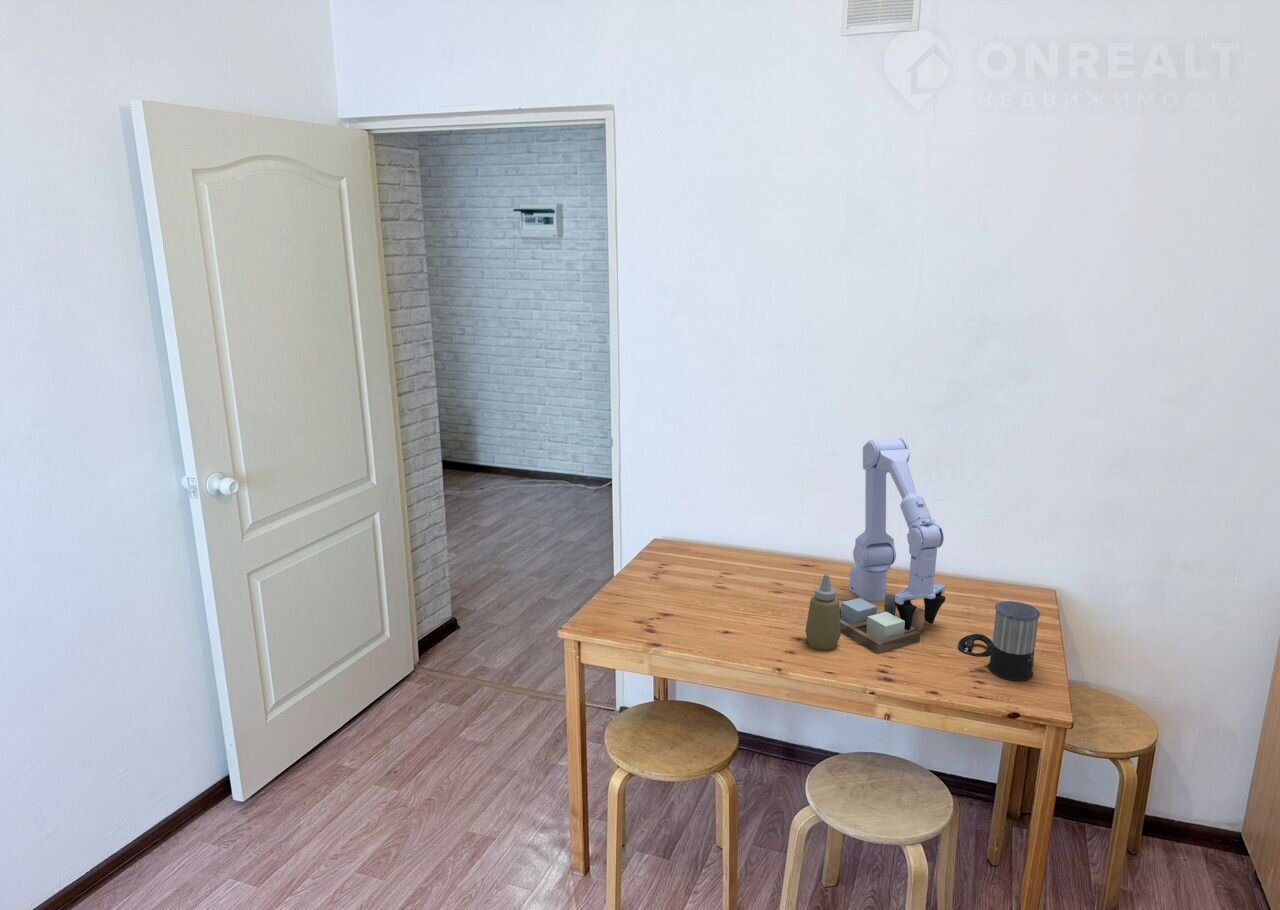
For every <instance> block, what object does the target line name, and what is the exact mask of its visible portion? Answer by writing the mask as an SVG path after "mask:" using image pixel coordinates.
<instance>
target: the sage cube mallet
mask: <svg viewBox="0 0 1280 910" xmlns="http://www.w3.org/2000/svg"><path fill="white" fill-rule="evenodd" d="M924 615H925V608H924V609H923V608H921V607H917V608H916V610H915V612H914V614H913V618H912V624H911V628H910V630H906V629H904V627H905V621H904V620H902V619H900V617H898V616H897V615H896V616H894V615H892V614H890V613H888V612H884V611H883V612H879V613H877V614H875V615H871V616H868V617H867V631H866V634H867V635H869V636H871V637H873V638H874V639H876V640H878V641H881V640H884V639H888V638H891V637H895V636H899V635H902V634H906V633H909V632H913V631H919V632H920V633H921V632H923V631H924V627H925V626H924V625H925V618H924Z"/></svg>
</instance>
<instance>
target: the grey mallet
mask: <svg viewBox="0 0 1280 910" xmlns="http://www.w3.org/2000/svg"><path fill="white" fill-rule="evenodd" d="M894 599H895V594H889V593H888V594H887V593H886V596H885V599H884V610H883V612H888V613H890V614H892V615H894V616H896V617H897V615H896V613H897V607H896V605H895V604H894ZM877 610H878V606H877V605H875V604H872V603H871V602H870V601H868V600H865V599H862V598H860V597H858V598H854V599H850V600H845V601H841V618H840V619H841V620H843V621H845V622H846V623H848V624H850V625H855V624H859V623H862V622H866V621H867V617H868V616H871V615H875V614H878V611H877Z"/></svg>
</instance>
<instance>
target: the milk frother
mask: <svg viewBox="0 0 1280 910" xmlns="http://www.w3.org/2000/svg"><path fill="white" fill-rule="evenodd" d="M994 609H995V616H994V625H993V634H992V635H993V636H992V639H991V638H989V637H988V636H987V635H984V634H979V633H972V634H969V635H966V636H964V637H962V638H961V639H959V641H958V642H957V643H958V644H957V648H958V651H959V652H961V653H962V654H965V655H967V656H970V657H975V658H984V657H989V656H990V658H989V663H988V664H987V667H988V670H989V671H990V673H992V674H994V675H995V676H997V677H999V678H1003V679H1005V680H1008V681H1009V680H1010V681H1016V682H1017V681H1018V682H1022V681H1024V682H1025V681H1029V680H1030V679H1032V678H1033V676H1034V657H1035V650H1036V642H1037V632H1038V624H1039V618H1040V617H1041V611H1040V610H1039V609H1038V608H1037V607H1035V606H1033V605H1031V604H1028V603H1025V602H1021V601H1020V602H1019V601H1011V600H1008V601H1000V602H997V603H996V604H995V606H994ZM975 641H981V642H983V643H984V644H985V645H986V646H987V648H986V650H984V651H983V652H973V646H974V643H975Z"/></svg>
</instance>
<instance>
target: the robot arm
mask: <svg viewBox="0 0 1280 910" xmlns="http://www.w3.org/2000/svg"><path fill="white" fill-rule="evenodd" d="M909 448H910V447H909V445H908V443H907V441H906V440H905V439H904V438H901V437H900V438H894V439H875V440H873V439H870V440H868V441H866V443H865V444H864V445H863V447H862V470H865V495H864V500H865V505H864V507H865V514H864V515H865V518H864V519H865V521H864V523H865V524H864V526H865V530H864V531H863V532H862V533H861V534H859V535H858V536H857V537H856V538H855V541H854V542H855V544H854V549H853V551H852V557H853V561H854V564H853V565H852V567H851V569H850V571H849V587H848V591H850V592H851V593H853V594H855V595H857V597H858V598H861V599H863V600H865V601H867V602H880V601H883V600H884V601H885V596H886V595H887V593H886V592H887V581H888V570H889V569H891V566H892V565H894V563H895V562H896V559H897V551H896V548H895V540H894V538H893V537H892V536H891V535H890V534H888V533H887V531H886V530H887V527H886V526H887V474H888V473H889V474H890V476H891V479H892V480H893V483H894V484H895V487H896V488H897V491H898V493H899V495H900V497H901V499H902V500H901V502H900V505H899V506H900V509H901V512H902V515H903V517H904V520H905V523H906V525H907V528H908V533H907V534H906V536H907V543H908V547H909V548H908V552H909V554H910V565H909V573H908V574H909V575H908V586H907V587H906V588H905V589H903V590H901V591H900V592H898V593H895V594H894V595H895V599H894V604H895V605H896V611H897V612H898V614H899V615H898V616H899V618H900V619H902V620H904V621H905V627H904V629H906V630H910V628H911V624H912V618H913V614H914V612H915V610H916V608H918V607H917V606H916V605H914V604H913V602H912V601H914V600H919V599H923V603H924V610H925V615H924V622H926V623H927V624H929V625H933V624H934V622H935V619H936V617H937V615H938V612H939V610H940V609H941V606H942V605H943V604H944V603H945V602H946V596H944V594H945V592H946V586H945V585H943V584H941V583H935V576H936V564H937V557H938V555H937V554H938V549H939V548H941V547H942V546H943V544H944V539H945V538H944V536H945V535H944V532H943V528H942V527H941V525H940V524H938V523H937V522H936V520H935V519H933V518H932V516H931V514H930V511H929V509H928V507H927V504H926V502H925V499H924V497H922V496H920V495H918V494H917V491H916V487H915V484H914V480H913V477H912V475H911V474H912V473H911V470H910V467H909V462H910V461H909V460H910V458H911V457H910V456H911V452H910V449H909Z"/></svg>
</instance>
